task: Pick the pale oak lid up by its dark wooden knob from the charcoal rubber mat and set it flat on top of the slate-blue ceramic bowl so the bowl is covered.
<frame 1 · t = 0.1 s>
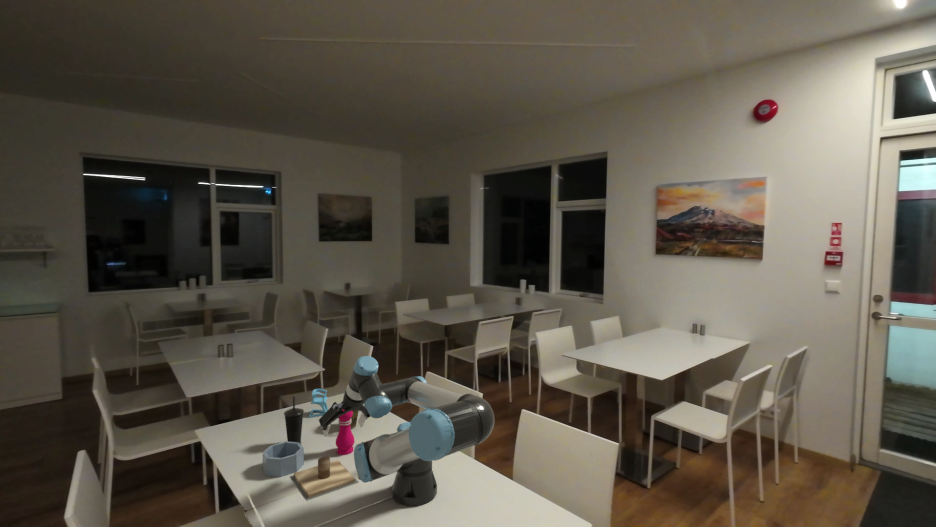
hand: (342, 428, 166), 15 cm above the table, tool tilted 35°, fingers open, 13 cm apart
drinking cup: (294, 444, 185), on the table
ceramic cup: (348, 428, 201), on the table
pepper mill: (345, 453, 179), on the table
lid: (324, 479, 159), point 1 cm above the table, touching mat
chair: (319, 414, 216), on the table
bowl: (283, 468, 166), on the table
mat: (324, 480, 159), on the table
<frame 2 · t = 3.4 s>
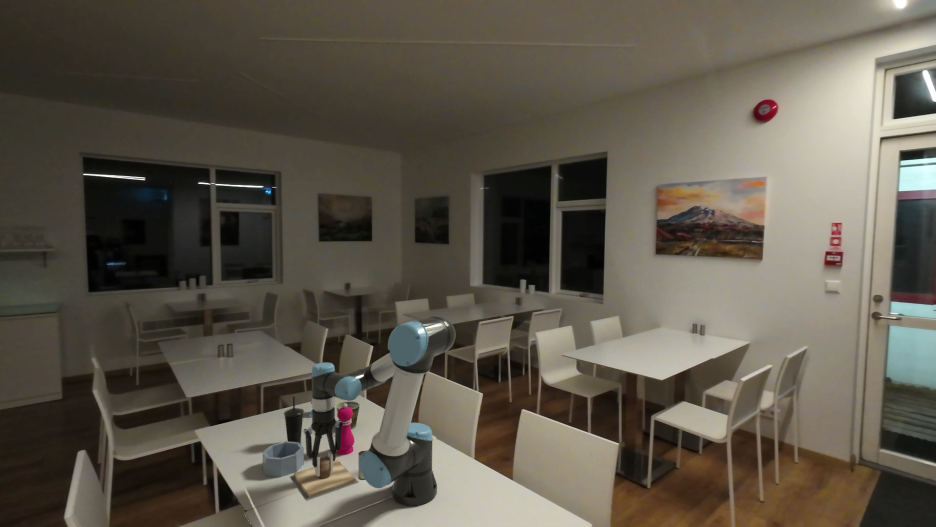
hand: (324, 472, 158), 3 cm above the table, tool pointing down, fingers closed on lid, 4 cm apart
lid: (324, 479, 159), point 1 cm above the table, touching gripper
everything else where it was.
when the fingers open (11 cm above the table, at t = 8.3 s): lid drops 1 cm, resting on bowl.
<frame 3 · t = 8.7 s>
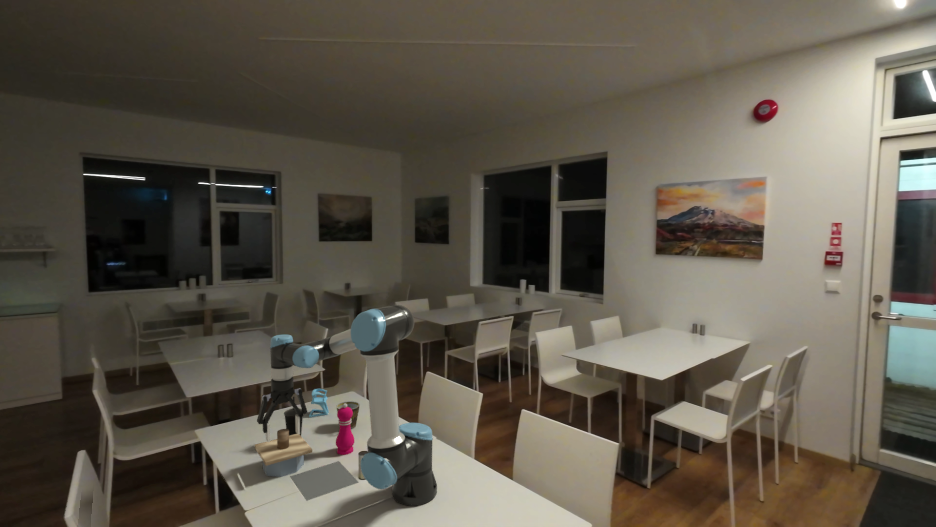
hand: (283, 436, 166), 12 cm above the table, tool pointing down, fingers open, 10 cm apart
lid: (283, 450, 166), point 7 cm above the table, touching bowl
everything else where it was.
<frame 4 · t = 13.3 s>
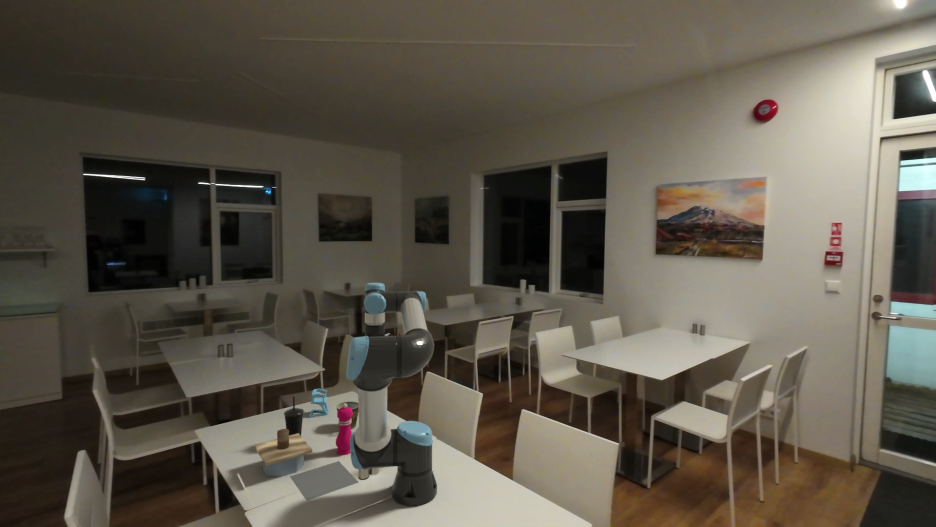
hand: (374, 377, 174), 32 cm above the table, tool pointing down, fingers open, 13 cm apart
nothing on the table moved.
at the end: lid 0.0 cm off-centre on the bowl, point 7.0 cm above the bowl's base; lid tilted 0°; the gripper is holding nothing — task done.
